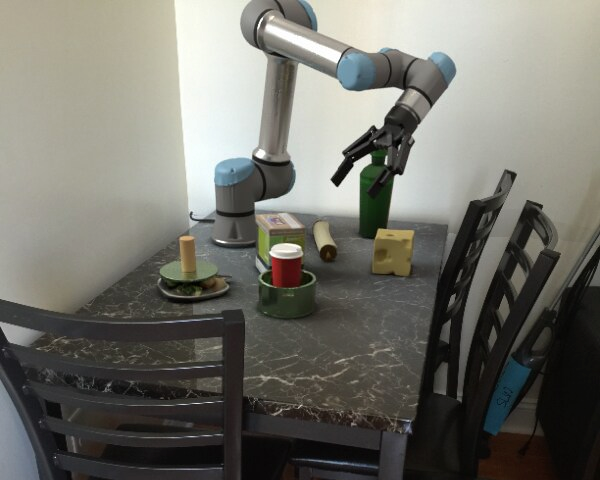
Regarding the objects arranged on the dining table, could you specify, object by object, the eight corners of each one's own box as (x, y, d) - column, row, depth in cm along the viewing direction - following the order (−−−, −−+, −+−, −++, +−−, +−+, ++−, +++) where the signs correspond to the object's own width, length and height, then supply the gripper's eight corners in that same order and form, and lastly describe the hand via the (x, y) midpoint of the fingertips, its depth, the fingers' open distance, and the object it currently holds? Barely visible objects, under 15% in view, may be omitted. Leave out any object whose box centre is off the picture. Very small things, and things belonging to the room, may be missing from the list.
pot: (258, 323, 148) (258, 292, 144) (259, 292, 164) (258, 264, 160) (317, 323, 148) (318, 292, 144) (312, 292, 164) (313, 264, 160)
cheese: (409, 277, 175) (413, 240, 170) (369, 273, 177) (372, 237, 172) (411, 264, 184) (415, 229, 179) (373, 261, 186) (376, 226, 180)
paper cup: (306, 301, 158) (307, 244, 151) (295, 312, 152) (296, 254, 145) (276, 296, 160) (276, 240, 153) (264, 307, 154) (264, 250, 147)
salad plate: (222, 272, 176) (221, 255, 173) (245, 295, 162) (245, 277, 160) (151, 281, 169) (149, 264, 166) (169, 306, 155) (168, 288, 152)
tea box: (305, 282, 170) (306, 226, 163) (268, 285, 168) (267, 229, 160) (289, 263, 183) (290, 210, 175) (254, 266, 180) (253, 213, 172)
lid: (156, 284, 156) (152, 247, 151) (164, 264, 168) (160, 229, 163) (216, 284, 156) (214, 247, 152) (220, 264, 169) (218, 229, 164)
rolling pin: (311, 232, 209) (311, 216, 206) (328, 232, 209) (328, 216, 207) (318, 266, 181) (319, 248, 179) (338, 266, 182) (339, 248, 179)
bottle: (394, 233, 209) (403, 141, 195) (380, 242, 201) (388, 146, 187) (365, 228, 214) (371, 137, 199) (349, 236, 206) (355, 142, 192)
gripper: (451, 134, 145) (394, 211, 145) (379, 120, 162) (328, 188, 163) (437, 110, 139) (378, 190, 140) (364, 97, 157) (311, 168, 157)
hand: (351, 189), depth 151 cm, fingers open, 13 cm apart
